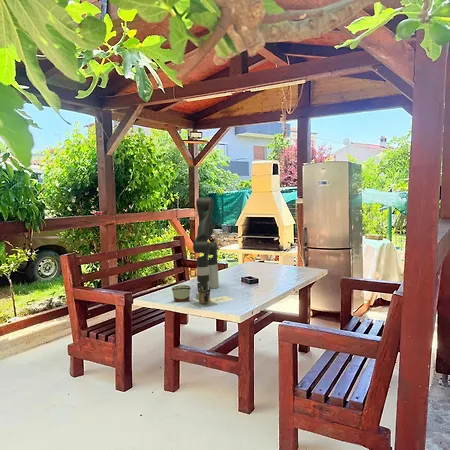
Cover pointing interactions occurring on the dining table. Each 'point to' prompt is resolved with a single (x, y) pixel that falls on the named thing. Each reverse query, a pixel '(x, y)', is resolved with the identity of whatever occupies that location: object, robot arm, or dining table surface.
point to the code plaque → (221, 299)
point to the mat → (204, 304)
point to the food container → (181, 293)
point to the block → (201, 298)
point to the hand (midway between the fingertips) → (204, 300)
